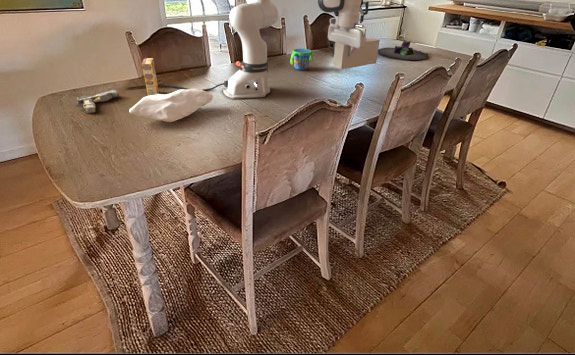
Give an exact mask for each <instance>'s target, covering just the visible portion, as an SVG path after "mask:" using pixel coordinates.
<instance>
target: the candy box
mask: <svg viewBox="0 0 575 355" xmlns="http://www.w3.org/2000/svg"><path fill="white" fill-rule="evenodd" d="M141 66H142V73H143V78H144V82H145V85H146V87H145V88H146V92H147V96H150V95H156V94H159V91H160V90H159V86H158V85H159V84H158V79H157V73H156V66H155V62H154V58H153V57H151V58H150V57H149V58H146V57H145V58H143V60H142V63H141Z"/></svg>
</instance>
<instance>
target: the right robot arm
mask: <svg viewBox="0 0 575 355" xmlns="http://www.w3.org/2000/svg"><path fill="white" fill-rule="evenodd" d="M363 5H364V7H365V9H364V10H363V7H362V6H363ZM369 5H370V2H369V1H368V0H367V1H364V0H361V5H360V8H359V14H360V17H359V24H362V23H363V22H364V20H365V16H366V15H368V14H369ZM333 14H334V16H335V17H339V11H336V12H333ZM332 42H333V43H332V46H331V43H330V41H327V43H326V44H327V45H328V46H327V47H328V48H329V49H331V50H332V53H331V56H332V57H334V50H335V42H334V41H332Z"/></svg>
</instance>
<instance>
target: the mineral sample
mask: <svg viewBox="0 0 575 355" xmlns="http://www.w3.org/2000/svg"><path fill="white" fill-rule="evenodd" d="M410 46H411V41H410V40H403V41H402V43H401V44H400V46H399V45H395V46H394V47H382V48H378V54H379V55H382V56H385V57H388V58H393V59H399V60H408V61H416V60H425V59H428V58H429V56H430V55H429V53H427V52H423V51H421V50H416V49H414V48H413V47H410Z"/></svg>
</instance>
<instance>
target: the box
mask: <svg viewBox="0 0 575 355" xmlns="http://www.w3.org/2000/svg"><path fill="white" fill-rule="evenodd" d="M350 47H351V46H348V45H347V44H344V43H340V42H335V50H334V56H333V63H332V67H334V68H336V69H339V70H347V69H351V68H358V67H362V66H369V65H375V64H377V59H378V55H379V53H378V49H380V39H378V38H374V37H366V42H365V46H364V48H360V49H358V48H356V49H355V51H354V52H353V56H352V57H350V56H348V52H350V50H351V49H350Z"/></svg>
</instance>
